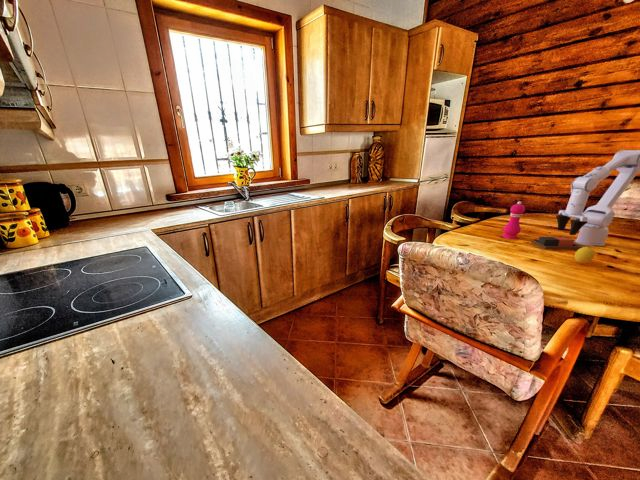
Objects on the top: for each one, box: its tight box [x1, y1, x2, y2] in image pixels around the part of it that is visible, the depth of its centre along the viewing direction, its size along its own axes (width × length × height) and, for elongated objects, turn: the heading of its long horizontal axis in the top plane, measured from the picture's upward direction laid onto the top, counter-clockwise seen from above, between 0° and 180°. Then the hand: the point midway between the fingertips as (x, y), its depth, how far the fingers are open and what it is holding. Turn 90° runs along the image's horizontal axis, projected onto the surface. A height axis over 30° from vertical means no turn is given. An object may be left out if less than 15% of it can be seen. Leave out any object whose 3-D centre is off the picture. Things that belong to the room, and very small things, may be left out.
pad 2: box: [553, 236, 576, 246], centre depth 135 cm, size 6×4×4 cm
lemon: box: [573, 246, 595, 266], centre depth 115 cm, size 6×6×8 cm
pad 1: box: [537, 236, 559, 246], centre depth 136 cm, size 6×4×4 cm
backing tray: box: [530, 239, 583, 251], centre depth 136 cm, size 15×10×2 cm
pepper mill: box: [502, 200, 526, 240], centre depth 147 cm, size 7×7×20 cm
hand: (566, 232), depth 133 cm, fingers open, 7 cm apart
